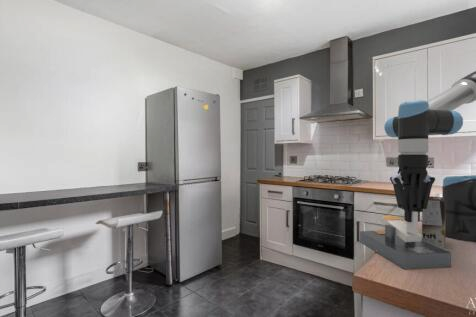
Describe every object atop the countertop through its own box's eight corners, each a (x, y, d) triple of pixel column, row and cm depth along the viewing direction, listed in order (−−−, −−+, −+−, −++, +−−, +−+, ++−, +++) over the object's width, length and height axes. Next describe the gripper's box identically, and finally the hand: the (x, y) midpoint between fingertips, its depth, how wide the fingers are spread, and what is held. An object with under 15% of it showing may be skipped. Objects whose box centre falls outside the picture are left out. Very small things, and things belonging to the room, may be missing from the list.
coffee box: (444, 249, 86) (445, 200, 86) (421, 245, 90) (421, 198, 90) (445, 241, 93) (445, 197, 93) (423, 238, 97) (423, 195, 97)
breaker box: (396, 240, 95) (396, 216, 95) (451, 266, 73) (451, 235, 73) (359, 242, 94) (359, 217, 93) (404, 269, 72) (404, 237, 71)
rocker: (394, 221, 89) (395, 215, 89) (421, 241, 78) (422, 234, 77) (380, 221, 89) (381, 215, 88) (405, 242, 77) (406, 235, 77)
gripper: (422, 153, 82) (422, 228, 82) (383, 153, 81) (383, 229, 81) (443, 153, 74) (443, 235, 75) (401, 153, 73) (400, 237, 74)
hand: (411, 232), depth 78 cm, fingers closed
